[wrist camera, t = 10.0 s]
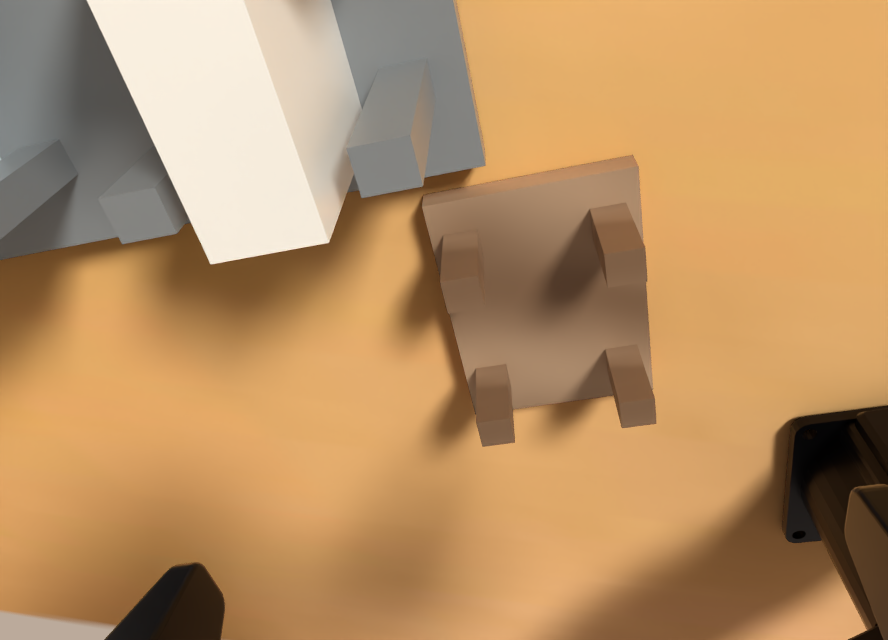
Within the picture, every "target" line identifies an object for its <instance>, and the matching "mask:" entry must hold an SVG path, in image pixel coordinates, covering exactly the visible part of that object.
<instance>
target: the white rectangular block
mask: <svg viewBox="0 0 888 640" xmlns="http://www.w3.org/2000/svg"><path fill="white" fill-rule="evenodd" d="M87 2H88V4H89V6H90V8H91V11H92V13H93V15H94V17H95V19H96V21H97V23H98V25H99V28H100V30H101V32H102V34H103V36H104V38H105V40H106V42H107V45H108V47H109V49H110V51H111V53H112V55H113V57H114V60H115V62H116V64H117V66H118V68H119V70H120V72H121V74H122V77H123V79H124V81H125V83H126V85H127V87H128V89H129V91H130V94H131V96H132V98H133V100H134V102H135V104H136V106H137V108H138V111H139V113H140V115H141V117H142V119H143V121H144V123H145V126H146V128H147V130H148V132H149V134H150V136H151V138H152V140H153V143H154V145H155V147H156V149H157V151H158V153H159V155H160V157H161V160H162V162H163V164H164V166H165V168H166V170H167V172H168V175H169V177H170V179H171V181H172V183H173V185H174V187H175V189H176V192H177V194H178V196H179V198H180V200H181V202H182V204H183V206H184V209H185V211H186V213H187V215H188V217H189V219H190V221H191V224H192V226H193V228H194V230H195V232H196V234H197V236H198V238H199V241H200V243H201V245H202V247H203V249H204V251H205V253H206V255H207V258H208V260H209V262H210V264H216V263H221V262H227V261H232V260H238V259H243V258H249V257H254V256H260V255H265V254H270V253H276V252H281V251H287V250H292V249H298V248H303V247H309V246H314V245H319V244H325V243H329V242H330V239H331V236H332V233H333V230H334V228H335V225H336V222H337V219H338V216H339V214H340V211H341V208H342V205H343V202H344V200H345V197H346V194H347V191H348V189H349V186H350V183H351V180H352V177H353V175H354V172H353V169H352V166H351V163H350V159H349V156H348V153H347V150H346V147H347V145H348V143H349V140H350V138H351V135H352V133H353V131H354V128H355V126H356V123H357V121H358V118H359V116H360V114H361V111H362V108H361V105H360V101H359V98H358V94H357V91H356V87H355V84H354V80H353V77H352V73H351V70H350V66H349V63H348V59H347V56H346V52H345V49H344V45H343V42H342V38H341V35H340V31H339V28H338V24H337V21H336V17H335V14H334V10H333V7H332V3H331V0H87Z"/></svg>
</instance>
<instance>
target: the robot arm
mask: <svg viewBox="0 0 888 640" xmlns="http://www.w3.org/2000/svg"><path fill="white" fill-rule="evenodd" d="M809 429H810V430H809ZM806 430H809V431H806ZM805 431H806V432H805ZM782 530H783V533H784V535H785V537H786V539H787V540H788V541H789V542H792V543H802V542H811V541H821V540H822V541H823V543H824V545H825V547H826V549H827V551H828V553H829V555H830V557H831V559H832V561H833V563H834V565H835V567H836V569H837V571H838V573H839V575H840V577H841V579H842V581H843V583H844V585H845V587H846V589H847V591H848V593H849V595H850V597H851V599H852V601H853V603H854V605H855V607H856V609H857V611H858V613H859V615H860V617H861V619H862V621H863V623H864V625H865V627H866V629H867V631H865V632H863V633H861V634H859V635H857V636H855V637H852V638H850V639H848V640H888V406H881V407H874V408H866V409H858V410H851V411H843V412H835V413H828V414H820V415H812V416H805V417H802V418H799V419H797V420H796V421H794V423H793V424H792V425H791V428H790V437H789V449H788V461H787V473H786V485H785V497H784V509H783V521H782ZM224 611H225V602H224V597H223V594H222V592H221V591H220V589H219V588H218V586H217V584H216V583H215V581H214V580H213V578H212V577H211V575H210V574H209V572H208V571H207V569H206V568H205V567H204V565H202V564H200V563H197V562H195V563H186V564H178V565H175V566H173V567H171V568H170V569H169V570H168V571H167V572H166V573H165V574H164V575H163V576H162V577H161V578H160V579H159V580H158V582H157V583H156V584H155V585H154V586H153V587H152V588H151V589H150V590H149V591H148V592H147V594H146V595H145V596H144V597H143V598H142V599H141V600H140V601H139V602H138V603H137V604H136V606H135V607H134V608H133V609H132V610H131V611H130V612H129V613H128V614H127V615H126V617H125V618H124V619H123V620H122V621H121V622H120V623H119V624H118V625H117V626H116V627H115V629H114V630H113V631H112V632H111V633H110V634H109V635H108V636H107V637H106V639H105V640H221V634H222V626H223V619H224Z"/></svg>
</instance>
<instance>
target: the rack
mask: <svg viewBox="0 0 888 640" xmlns="http://www.w3.org/2000/svg"><path fill="white" fill-rule="evenodd" d="M331 3H332V7H333V10H334V14H335V17H336V21H337V24H338V28H339V31H340V35H341V38H342V42H343V45H344V49H345V52H346V56H347V59H348V63H349V66H350V70H351V73H352V77H353V80H354V84H355V87H356V91H357V94H358V98H359V101H360V105H361V108H362V111H361V114H360V116H359V118H358V121H357V123H356V126H355V128H354V131H353V133H352V135H351V138H350V140H349V143H348V145H347V147H346V150H347V153H348V156H349V159H350V163H351V166H352V169H353V172H354V175H353V177H352V180H351V183H350V186H349V189H348V191H347V193H348V192H353V191H358V190H359V192H360V195H361V198H365V197H371V196H376V195H381V194H386V193H391V192H397V191H402V190H407V189H412V188H417V187H423V184H424V178H425V177H430V176H435V175H440V174H445V173H451V172H456V171H461V170H466V169H471V168H476V167H481V166H485V148H484V142H483V137H482V132H481V127H480V122H479V116H478V111H477V106H476V101H475V96H474V91H473V85H472V80H471V75H470V70H469V65H468V59H467V54H466V49H465V44H464V39H463V34H462V28H461V23H460V18H459V13H458V8H457V3H456V0H331ZM0 158H1V160H0V260H3V259H8V258H13V257H18V256H23V255H28V254H34V253H39V252H44V251H49V250H54V249H59V248H64V247H70V246H75V245H80V244H85V243H90V242H95V241H100V240H106V239H111V238H116V237H119V239H120V241H121V243H122V244H126V243H131V242H137V241H142V240H147V239H152V238H157V237H163V236H168V235H173V234H177V233H178V232H179V231H180V229H181V228H182V227H183V225H184V224H188V223H191V221H190V219H189V217H188V215H187V213H186V211H185V209H184V206H183V204H182V202H181V200H180V198H179V196H178V194H177V192H176V189H175V187H174V185H173V183H172V181H171V179H170V177H169V175H168V172H167V170H166V168H165V166H164V164H163V162H162V160H161V157H160V155H159V153H158V151H157V149H156V147H155V145H154V143H153V140H152V138H151V136H150V134H149V132H148V130H147V128H146V126H145V123H144V121H143V119H142V117H141V115H140V113H139V111H138V108H137V106H136V104H135V102H134V100H133V98H132V96H131V94H130V91H129V89H128V87H127V85H126V83H125V81H124V79H123V77H122V74H121V72H120V70H119V68H118V66H117V64H116V62H115V60H114V57H113V55H112V53H111V51H110V49H109V47H108V45H107V42H106V40H105V38H104V36H103V34H102V32H101V30H100V28H99V25H98V23H97V21H96V19H95V17H94V15H93V13H92V11H91V8H90V6H89V4H88V2H87V0H0Z"/></svg>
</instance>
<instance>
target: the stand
mask: <svg viewBox="0 0 888 640" xmlns="http://www.w3.org/2000/svg"><path fill="white" fill-rule="evenodd" d="M422 209H423V213H424V217H425V221H426V225H427V229H428V232H429V236H430V240H431V244H432V248H433V252H434V256H435V260H436V263H437V267H438V271H439V275H440V285H441V289H442V293H443V296H444V300H445V304H446V308H447V312H448V314H450V318H451V321H452V325H453V329H454V333H455V337H456V341H457V345H458V348H459V352H460V356H461V360H462V364H463V368H464V372H465V376H466V379H467V383H468V387H469V391H470V395H471V399H472V403H473V406H474V410H475V414H476V423H477V427H478V431H479V435H480V439H481V442H482V446H483V447H484V446H492V445H499V444H507V443H515V435H514V421H513V409H519V408H527V407H534V406H541V405H548V404H555V403H562V402H569V401H577V400H584V399H591V398H598V397H605V396H612V395H614V399H615V403H616V407H617V411H618V415H619V419H620V423H621V427H622V428H628V427H635V426H643V425H650V424H656V410H655V398H654V394H653V391H652V390H653V383H652V368H651V352H650V337H649V321H648V306H647V291H646V282H647V268H646V252H645V246H644V243H643V229H642V213H641V198H640V182H639V167H638V164H637V162H636V160H635V158H634V156H633V155H631V156H625V157H620V158H615V159H610V160H604V161H599V162H594V163H589V164H583V165H578V166H573V167H568V168H562V169H557V170H552V171H547V172H541V173H536V174H531V175H526V176H520V177H515V178H510V179H505V180H499V181H494V182H489V183H484V184H478V185H473V186H468V187H463V188H457V189H452V190H447V191H442V192H436V193H431V194H426V195H423V202H422Z"/></svg>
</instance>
